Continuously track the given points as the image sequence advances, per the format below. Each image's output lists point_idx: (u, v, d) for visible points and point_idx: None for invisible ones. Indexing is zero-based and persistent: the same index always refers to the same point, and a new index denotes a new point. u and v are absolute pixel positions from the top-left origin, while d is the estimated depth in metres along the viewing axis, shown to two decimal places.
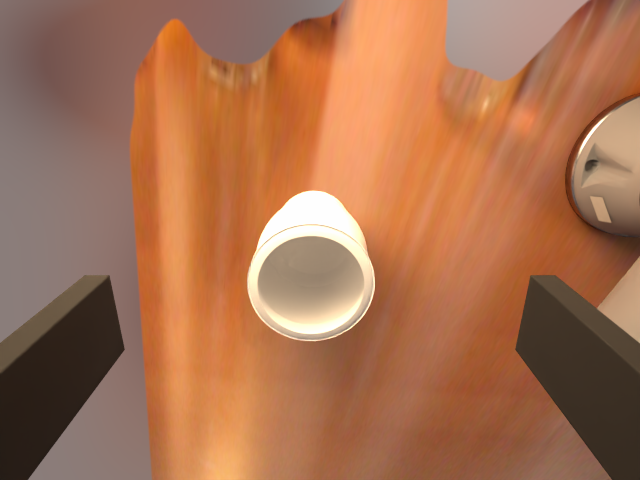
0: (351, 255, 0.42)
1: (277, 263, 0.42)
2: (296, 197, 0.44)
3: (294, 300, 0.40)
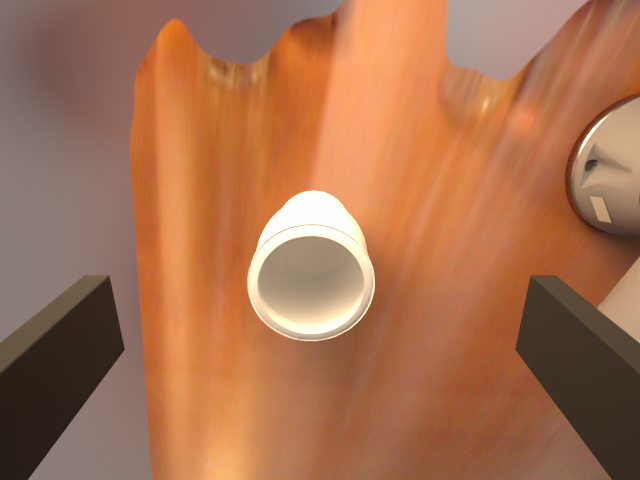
0: (351, 255, 0.42)
1: (277, 263, 0.42)
2: (296, 197, 0.44)
3: (294, 300, 0.40)
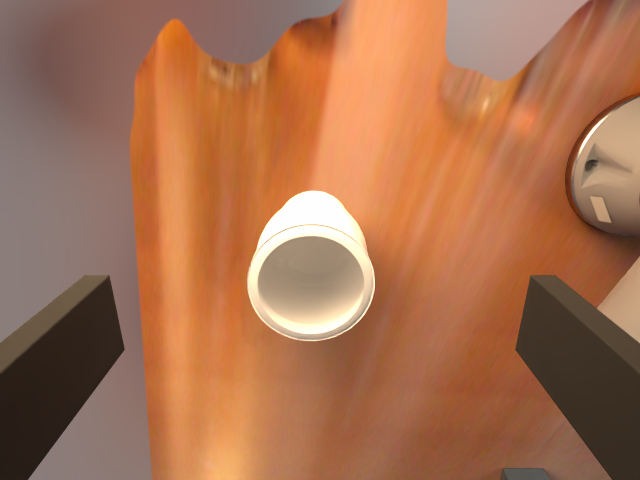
0: (351, 255, 0.42)
1: (277, 263, 0.42)
2: (296, 197, 0.44)
3: (294, 300, 0.40)
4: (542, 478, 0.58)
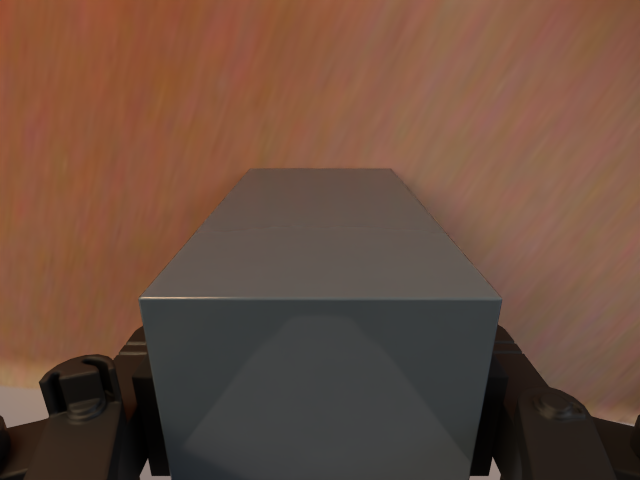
0: None
1: None
2: None
3: None
4: (374, 177, 0.15)
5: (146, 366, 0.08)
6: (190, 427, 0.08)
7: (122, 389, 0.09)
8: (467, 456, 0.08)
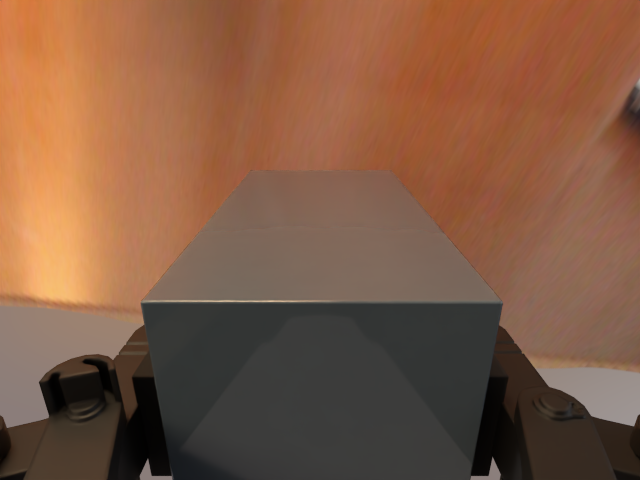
0: None
1: None
2: None
3: None
4: (374, 178, 0.15)
5: (146, 366, 0.08)
6: (192, 430, 0.08)
7: (122, 389, 0.09)
8: (468, 458, 0.08)
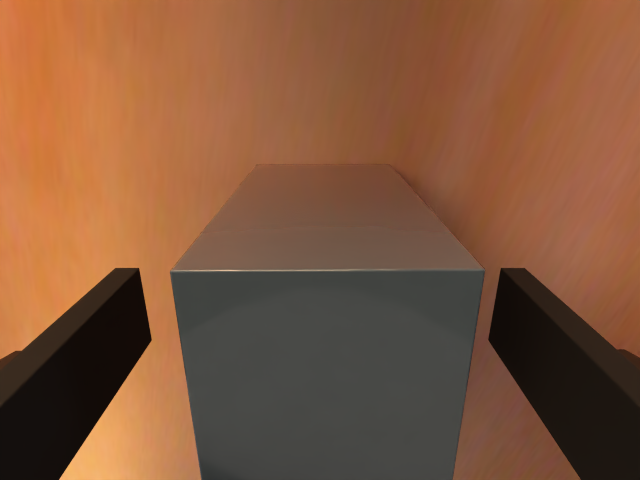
0: None
1: None
2: None
3: None
4: (373, 171, 0.16)
5: None
6: (213, 387, 0.09)
7: None
8: (457, 413, 0.09)
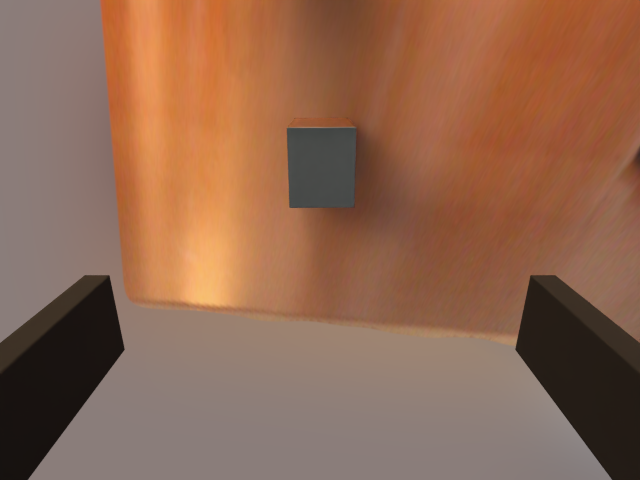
0: None
1: None
2: None
3: None
4: None
5: None
6: (294, 159, 0.36)
7: None
8: (353, 167, 0.36)
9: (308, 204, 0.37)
